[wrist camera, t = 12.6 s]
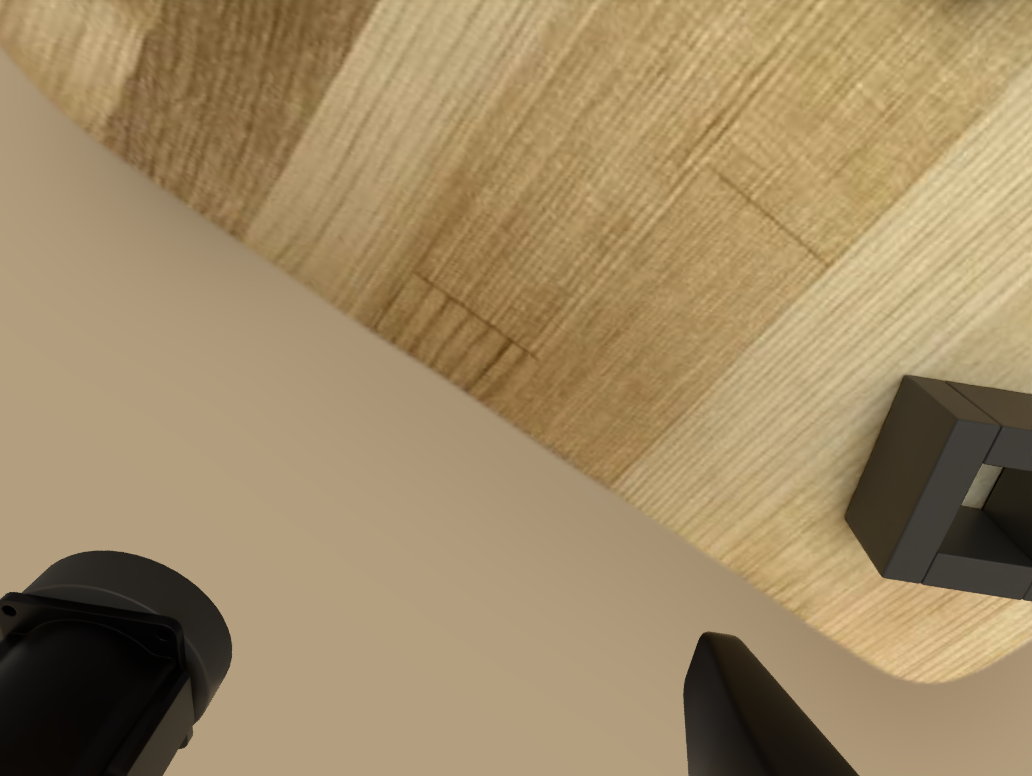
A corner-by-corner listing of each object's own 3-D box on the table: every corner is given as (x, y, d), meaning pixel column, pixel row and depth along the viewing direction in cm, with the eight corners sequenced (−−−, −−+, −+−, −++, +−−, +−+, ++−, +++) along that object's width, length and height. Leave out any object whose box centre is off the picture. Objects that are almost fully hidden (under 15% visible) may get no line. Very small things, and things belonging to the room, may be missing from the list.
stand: (842, 518, 22) (881, 578, 20) (904, 373, 20) (957, 419, 17) (1001, 543, 22) (1061, 607, 20) (1081, 401, 20) (1162, 451, 17)
